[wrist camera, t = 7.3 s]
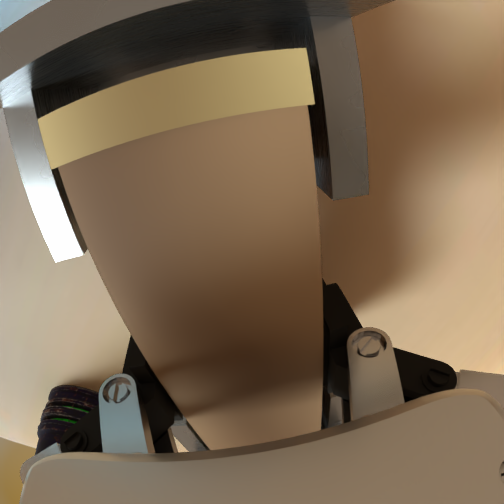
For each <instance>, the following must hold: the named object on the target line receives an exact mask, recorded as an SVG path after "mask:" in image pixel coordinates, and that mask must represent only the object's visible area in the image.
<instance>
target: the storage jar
mask: <svg viewBox="0 0 504 504" xmlns="http://www.w3.org/2000/svg"><path fill="white" fill-rule="evenodd" d="M48 399H49V401H48V402H47V404H46V407H45V409H44V410H43V413H42V416H41V423H40V425H39V426H38V432H37V435H38V438H39V440H38V444H37V448H36V453H35V455H36V454H38V453H40V452H41V451H43V450H45V449H46V448H48V447H50V446H51V445H53V444H54V443H56V442H57V443H58V444H60V441H61V438H62V436H63V434H64V433H65V432H66V431H67V430H68V429H69V428H70V427H71V426H72V425H74V424H75V423H76V422H77V421H79V420H80V419H81V418H82V417H83V416H85V415H86V414H87V413H88V412H90V411H91V410H92V409H93V408H94V407H96V406H97V405H98V404H99V393H97V392H95V391H92V390H89V389H85V388H81V387H76V386H69V385H62V386H57V387H55V388H53V389H52V390H51V392H50V394H49V398H48Z"/></svg>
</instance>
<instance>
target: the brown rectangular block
mask: <svg viewBox="0 0 504 504" xmlns="http://www.w3.org/2000/svg"><path fill="white" fill-rule="evenodd" d="M313 104H315V101H314V94H313V87H312V80H311V74H310V67H309V61H308V55H307V50H306V48H294V49H281V50H270V51H261V52H253V53H245V54H239V55H232V56H226V57H220V58H215V59H210V60H205V61H200V62H195V63H191V64H186V65H182V66H178V67H174V68H170V69H166V70H163V71H159V72H155V73H152V74H149V75H145V76H142V77H139V78H136V79H133V80H129V81H126V82H124V83H121V84H118V85H115V86H112V87H109V88H107V89H104V90H101V91H99V92H96V93H94V94H91V95H89V96H86V97H84V98H82V99H79V100H77V101H75V102H72V103H70V104H68V105H66V106H63V107H61V108H59V109H57V110H55V111H53V112H51V113H49V114H47V115H45V116H43V117H41V118H39V119H38V124H39V128H40V132H41V136H42V140H43V143H44V147H45V151H46V154H47V158H48V161H49V164H50V167H51V170H52V169H54V168H57V167H58V169H59V172H60V175H61V179H62V182H63V185H64V188H65V190H66V193H67V196H68V199H69V202H70V205H71V207H72V210H73V213H74V215H75V218H76V220H77V223H78V226H79V228H80V231H81V233H82V235H83V238H84V240H85V243H86V245H87V247H88V250H89V252H90V254H91V256H92V259H93V261H94V263H95V265H96V268H97V270H98V272H99V274H100V276H101V278H102V280H103V282H104V284H105V286H106V288H107V290H108V292H109V294H110V296H111V298H112V300H113V302H114V304H115V306H116V308H117V310H118V312H119V314H120V316H121V317H122V319H123V321H124V323H125V325H126V326H127V328H128V330H129V332H130V334H131V335H132V337H133V339H134V340H135V342H136V344H137V346H138V347H139V349H140V351H141V352H142V354H143V356H144V357H145V359H146V360H147V362H148V364H149V365H150V367H151V368H152V370H153V372H154V373H155V375H156V376H157V378H158V379H159V381H160V382H161V384H162V385H163V387H164V388H165V390H166V391H167V393H168V394H169V396H170V397H171V399H172V400H173V401H174V403H175V404H176V406H177V407H178V408H179V410H180V411H181V413H182V414H183V415H184V417H185V418H186V419H187V421H188V422H189V423H190V425H191V426H192V427H193V429H194V430H195V431H196V433H197V434H198V435H199V436H200V438H201V439H202V440H203V441H204V443H205V444H206V445H207V446H208V448H209V449H210V450H217V449H225V448H233V447H240V446H247V445H253V444H259V443H265V442H270V441H276V440H281V439H285V438H290V437H295V436H299V435H303V434H307V433H311V432H315V431H319V430H321V416H322V391H323V288H322V261H321V242H320V225H319V211H318V198H317V186H316V175H315V165H314V155H313V146H312V137H311V129H310V121H309V113H308V106H307V105H313Z"/></svg>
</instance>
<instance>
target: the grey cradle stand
mask: <svg viewBox="0 0 504 504" xmlns="http://www.w3.org/2000/svg"><path fill="white" fill-rule="evenodd" d="M391 1H394V0H52V1H50V2H48V3H46V4H44V5H43V6H41V7H39V8H37V9H36V10H34V11H32V12H31V13H29V14H28V15H26V16H24V17H23V18H21V19H20V20H18V21H17V22H15V23H14V24H12V25H11V26H9V27H8V28H6V29H5V30H4V31H2V32H1V33H0V108H3V109H4V114H5V119H6V124H7V128H8V132H9V136H10V140H11V144H12V148H13V152H14V155H15V159H16V162H17V165H18V169H19V172H20V175H21V178H22V181H23V184H24V187H25V190H26V193H27V195H28V198H29V201H30V204H31V206H32V209H33V211H34V214H35V217H36V219H37V221H38V224H39V226H40V229H41V231H42V233H43V236H44V238H45V240H46V242H47V245H48V247H49V249H50V251H51V253H52V256H53V258H54V260H55V262H59V261H62V260H66V259H70V258H74V257H77V256H81V255H84V253H85V252H86V250H87V249H88V247H87V245H86V243H85V240H84V238H83V235H82V233H81V231H80V228H79V226H78V223H77V220H76V218H75V215H74V213H73V210H72V207H71V205H70V202H69V199H68V196H67V193H66V190H65V188H64V185H63V182H62V179H61V175H60V172H59V169H58V167H57V168H54V169H52V170H51V167H50V164H49V161H48V158H47V154H46V151H45V147H44V143H43V140H42V136H41V132H40V128H39V124H38V119H39V118H41V117H43V116H45V115H47V114H49V113H51V112H53V111H55V110H57V109H59V108H61V107H63V106H66V105H68V104H70V103H72V102H75V101H77V100H79V99H82V98H84V97H86V96H89V95H91V94H94V93H96V92H99V91H101V90H104V89H107V88H109V87H112V86H115V85H118V84H121V83H124V82H126V81H129V80H133V79H136V78H139V77H142V76H145V75H149V74H152V73H155V72H159V71H163V70H166V69H170V68H174V67H178V66H182V65H186V64H191V63H195V62H200V61H205V60H210V59H215V58H220V57H226V56H232V55H239V54H245V53H253V52H261V51H270V50H281V49H294V48H306V50H307V55H308V61H309V67H310V74H311V80H312V87H313V94H314V101H315V104H313V105H307V106H308V113H309V121H310V129H311V137H312V146H313V155H314V165H315V175H316V185H317V186H318V187H319V188H320V189H321V190H323V191H324V192H325V193H326V194H327V195H328V196H329V197H330V198H331V199H332V200H333V201H334V200H339V199H345V198H351V197H357V196H362V195H368V194H369V181H368V153H367V135H366V122H365V110H364V100H363V91H362V83H361V75H360V67H359V60H358V54H357V48H356V42H355V36H354V31H353V25H352V20H351V17H354V16H356V15H358V14H361V13H363V12H365V11H368V10H370V9H373V8H375V7H378V6H381V5H383V4H386V3H389V2H391ZM341 424H342V405H341V397H338V396H336V395H333V392H332V393H327V390H326V387H325V386H324V387H323V391H322V416H321V430H323V429H327V428H330V427H334V426H337V425H341ZM171 429H172V433H173V435H174V436H175V437H176V439H177V440H178V441H179V442H180V443H181V444H182V445H183V446H184V447H185V448H186V449H187V450H188V451H189V452H195V451H207V450H210V449H209V448H208V446H207V445H206V444H205V443H204V441H203V440H202V439H201V438H200V436H199V435H198V434H197V433H196V431H195V430H194V429H193V427H192V426H191V425H190V423H189V422H188V421H187V419H186V418H185V417H184V415H183V420H179V421H174V424H173V425H172V426H171Z"/></svg>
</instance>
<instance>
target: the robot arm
mask: <svg viewBox="0 0 504 504" xmlns="http://www.w3.org/2000/svg"><path fill="white" fill-rule="evenodd" d="M322 288H323V387H324V386H325V387H326V390H327V393H332V392H333V395H336V396H338V397H341V405H342V424H341V425H337V426H334V427H330V428H327V429H323V430H319V431H315V432H311V433H307V434H303V435H299V436H295V437H290V438H285V439H281V440H276V441H270V442H265V443H259V444H253V445H247V446H240V447H233V448H225V449H217V450H207V451H195V452H181V453H178V450H177V447H176V444H175V440H174V437H173V433H172V429H171V426H172V425H173V424H174V421H179V420H183V414H182V413H181V411H180V410H179V408H178V407H177V406H176V404H175V403H174V401H173V400H172V399H171V397H170V396H169V394H168V393H167V391H166V390H165V388H164V387H163V385H162V384H161V382H160V381H159V379H158V378H157V376H156V375H155V373H154V372H153V370H152V368H151V367H150V365H149V364H148V362H147V360H146V359H145V357H144V356H143V354H142V352H141V351H140V349H139V347H138V346H137V344H136V342H135V340H134V339H133V337H132V335H131V337H130V341H129V345H128V350H127V354H126V358H125V363H124V368H123V372H122V374H115V375H113V376H111V377H109V378H108V379H107V380H105V381H104V383H103V384H102V385H101V387H100V390H99V404H98V405H97V406H96V407H94V408H93V409H92V410H91V411H90V412H88V413H87V414H86V415H85V416H83V417H82V418H81V419H80V420H79V421H77V422H76V423H75V424H74V425H72V426H71V427H70V428H69V429H68V430H67V431H66V432H65V433H64V434H63V436H62V438H61V441H60V444H58V443H57V442H56V443H54V444H53V445H51V446H50V447H48V448H46V449H45V450H43V451H41V452H40V453H38V454H36V455H35V456H33V457H31V458H30V459H28V460H26V461H25V462H24V463H23V465H22V467H21V470H20V476H21V480H22V483H23V489H22V493H21V497H20V503H19V504H504V375H501V374H492V373H484V372H476V371H468V370H460V372H455V371H454V370H453V368H452V367H451V366H449V365H448V364H446V363H444V362H441V361H438V360H434V359H431V358H427V357H424V356H420V355H417V354H414V353H410V352H407V351H404V350H400V349H397V348H394V347H392V342H391V340H390V338H389V336H388V335H387V334H386V333H385V332H384V331H382V330H380V329H377V328H373V327H365V328H363V327H362V326H361V324H360V322H359V320H358V318H357V317H356V315H355V313H354V312H353V310H352V308H351V306H350V305H349V303H348V301H347V299H346V298H345V296H344V294H343V293H342V291H341V289H340V288H339V286H338V285H337V284H336V283H334V284H329V285H326V284H325V282H324V280H323V278H322Z"/></svg>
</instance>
